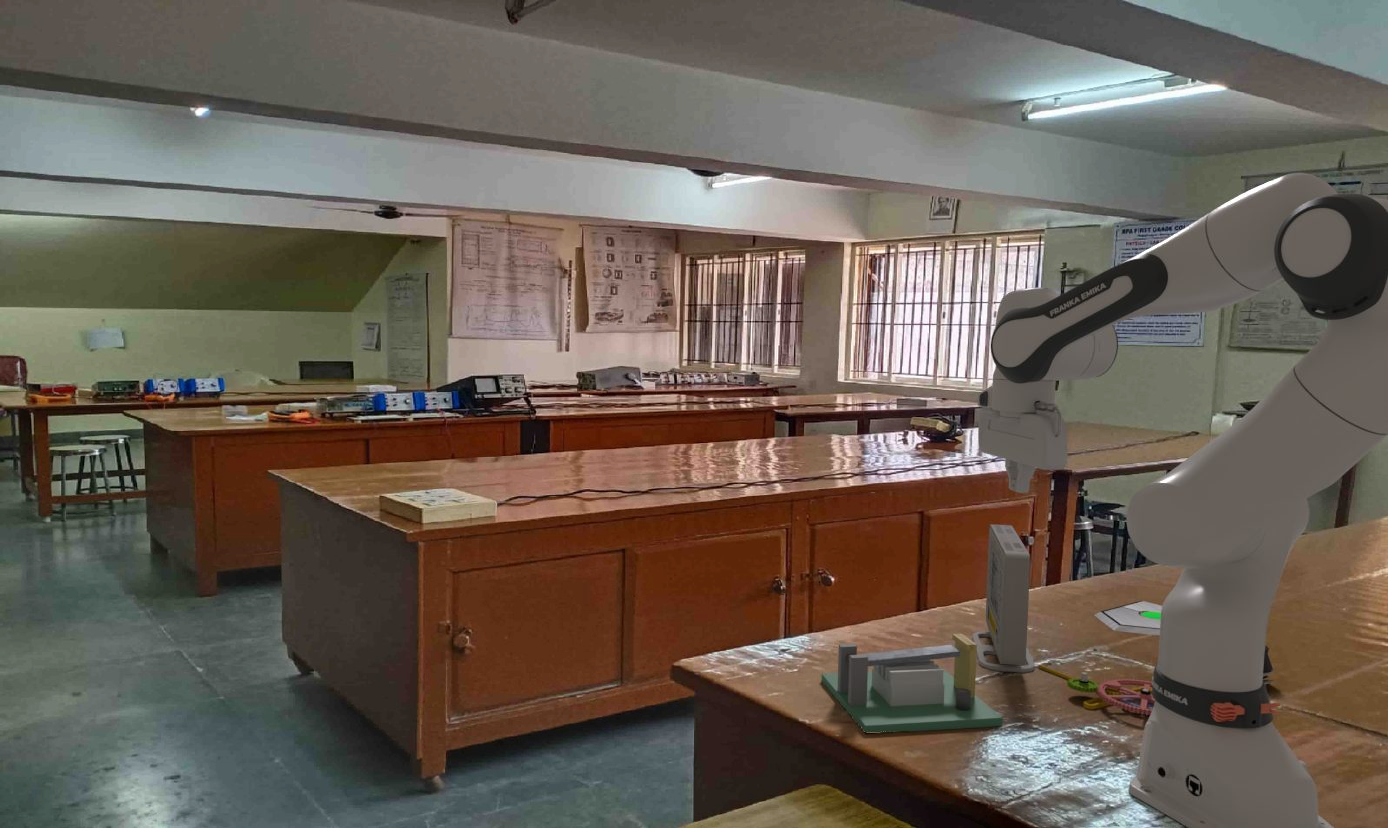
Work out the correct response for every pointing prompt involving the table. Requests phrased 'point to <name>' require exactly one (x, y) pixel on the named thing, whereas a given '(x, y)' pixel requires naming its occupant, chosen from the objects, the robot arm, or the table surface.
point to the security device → (1133, 618)
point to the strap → (911, 655)
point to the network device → (1006, 602)
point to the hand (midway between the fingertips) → (1018, 491)
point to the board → (916, 712)
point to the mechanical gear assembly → (1112, 692)
